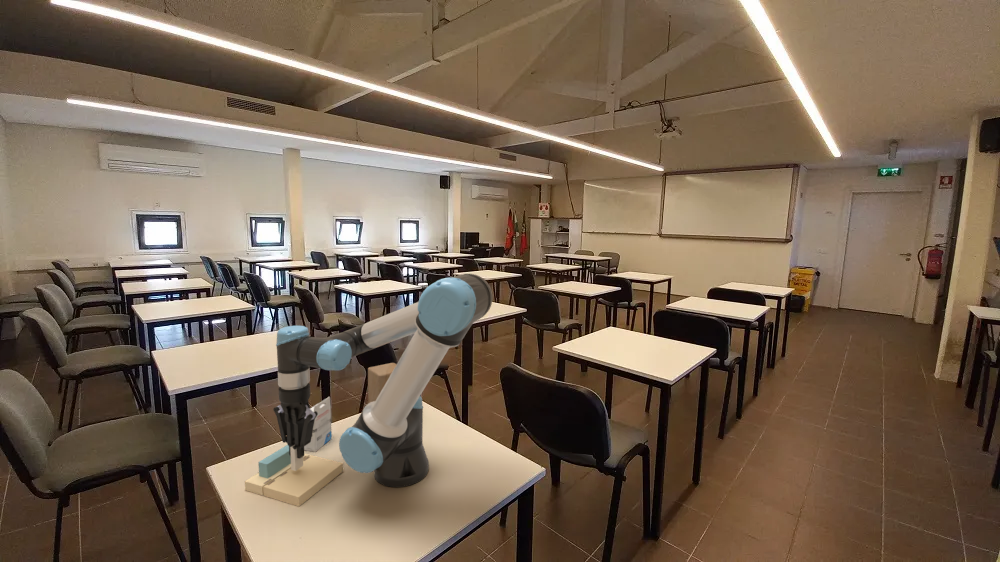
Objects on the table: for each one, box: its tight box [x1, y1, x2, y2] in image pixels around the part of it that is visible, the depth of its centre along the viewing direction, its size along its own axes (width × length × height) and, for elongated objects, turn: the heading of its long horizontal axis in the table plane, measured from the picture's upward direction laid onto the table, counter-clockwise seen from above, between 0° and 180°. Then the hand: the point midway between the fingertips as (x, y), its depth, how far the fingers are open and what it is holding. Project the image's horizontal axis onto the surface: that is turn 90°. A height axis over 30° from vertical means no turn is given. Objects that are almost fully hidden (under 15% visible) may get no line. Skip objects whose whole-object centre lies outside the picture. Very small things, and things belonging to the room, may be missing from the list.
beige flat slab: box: [263, 454, 344, 507], centre depth 111 cm, size 12×16×3 cm
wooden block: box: [367, 362, 397, 404], centre depth 145 cm, size 10×10×20 cm
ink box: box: [304, 396, 333, 452], centre depth 130 cm, size 9×5×15 cm, turn 168°
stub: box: [244, 444, 311, 496], centre depth 113 cm, size 6×16×6 cm, turn 161°
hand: (297, 467), depth 111 cm, fingers closed
